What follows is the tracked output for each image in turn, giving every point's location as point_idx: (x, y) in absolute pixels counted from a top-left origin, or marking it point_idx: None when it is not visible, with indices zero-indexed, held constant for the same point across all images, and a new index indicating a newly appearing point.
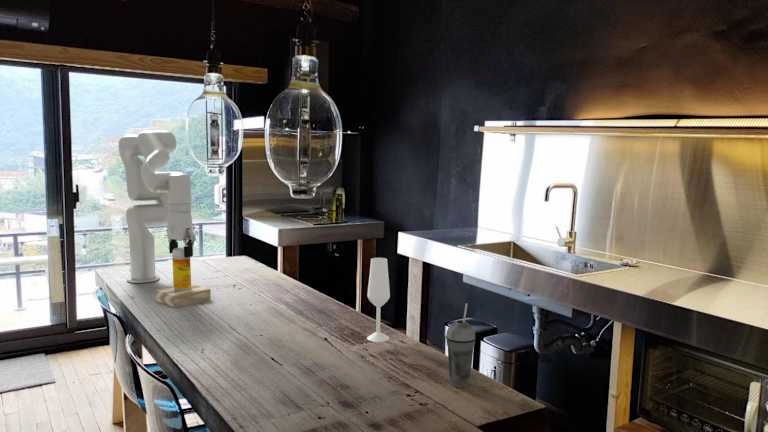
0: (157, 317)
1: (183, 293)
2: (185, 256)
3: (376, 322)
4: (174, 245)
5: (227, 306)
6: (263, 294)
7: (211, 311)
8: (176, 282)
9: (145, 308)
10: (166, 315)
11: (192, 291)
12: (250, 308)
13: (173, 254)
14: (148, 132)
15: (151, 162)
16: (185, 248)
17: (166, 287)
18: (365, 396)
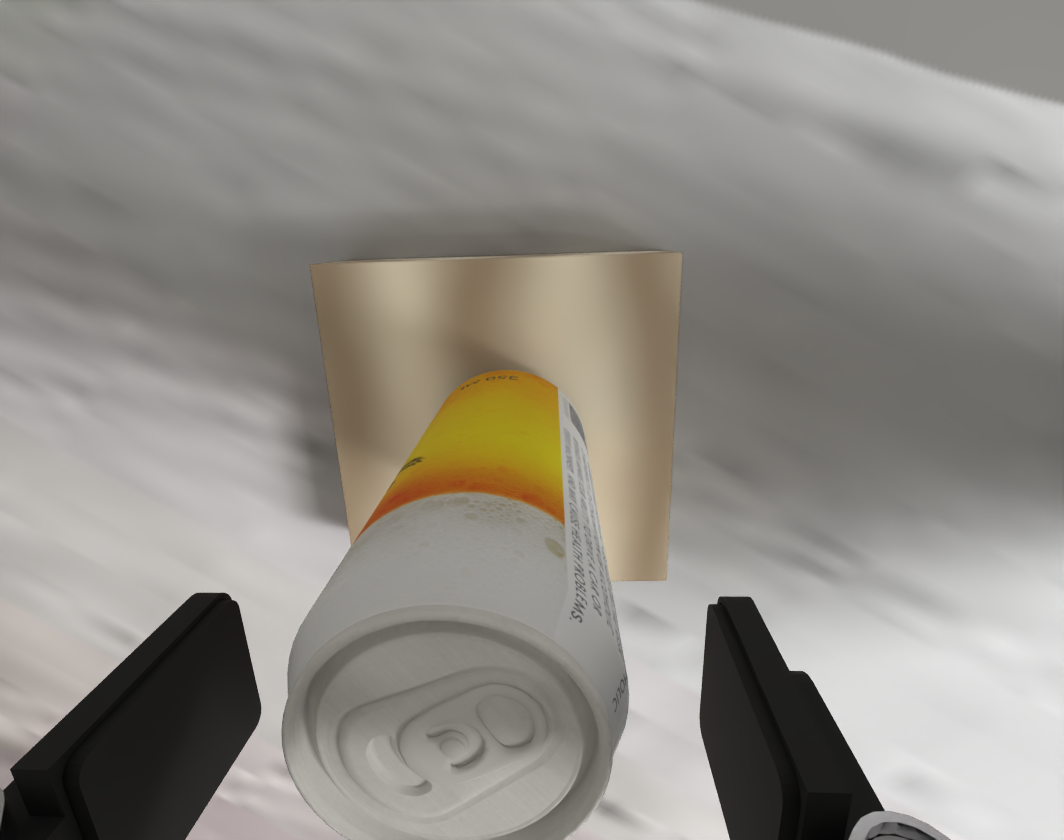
0: (172, 5)
1: (368, 370)
2: (195, 608)
3: None
4: (748, 802)
5: (162, 524)
6: (290, 792)
7: (105, 391)
8: (469, 390)
9: (494, 65)
10: (186, 94)
11: (382, 456)
12: (39, 588)
13: (448, 532)
14: None
15: None
16: (63, 740)
17: (676, 375)
18: None
